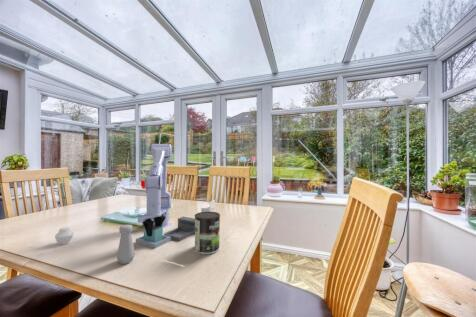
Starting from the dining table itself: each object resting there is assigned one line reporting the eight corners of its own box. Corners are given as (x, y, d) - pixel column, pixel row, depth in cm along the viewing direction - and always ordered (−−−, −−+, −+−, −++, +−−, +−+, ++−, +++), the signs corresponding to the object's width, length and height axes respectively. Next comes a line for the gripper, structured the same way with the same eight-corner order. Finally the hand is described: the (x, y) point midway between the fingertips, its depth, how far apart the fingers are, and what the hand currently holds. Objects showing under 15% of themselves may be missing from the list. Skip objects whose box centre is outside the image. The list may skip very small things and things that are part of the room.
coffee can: (224, 247, 88) (225, 213, 87) (208, 257, 79) (209, 220, 79) (205, 241, 93) (206, 210, 93) (189, 250, 84) (189, 215, 84)
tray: (135, 243, 90) (135, 238, 90) (152, 236, 97) (152, 232, 97) (155, 249, 85) (155, 244, 85) (170, 241, 92) (170, 236, 92)
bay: (161, 237, 97) (161, 224, 96) (183, 227, 110) (183, 216, 110) (182, 242, 91) (182, 229, 91) (201, 231, 104) (201, 219, 104)
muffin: (58, 241, 91) (58, 225, 91) (75, 239, 93) (75, 223, 93) (52, 247, 85) (52, 230, 85) (70, 245, 88) (70, 228, 87)
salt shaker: (121, 257, 78) (121, 222, 77) (137, 257, 78) (137, 222, 78) (113, 266, 72) (113, 228, 71) (130, 265, 72) (130, 228, 72)
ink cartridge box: (206, 225, 114) (206, 198, 114) (215, 225, 113) (215, 198, 113) (200, 230, 106) (201, 201, 106) (210, 231, 105) (210, 202, 105)
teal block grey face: (155, 244, 88) (155, 229, 88) (143, 241, 91) (143, 226, 91) (162, 240, 91) (162, 226, 91) (151, 237, 94) (151, 223, 94)
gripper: (146, 208, 82) (146, 242, 83) (172, 201, 95) (172, 230, 96) (134, 206, 85) (134, 238, 86) (161, 199, 99) (161, 227, 99)
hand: (153, 234), depth 91 cm, fingers closed on teal block grey face, 4 cm apart
